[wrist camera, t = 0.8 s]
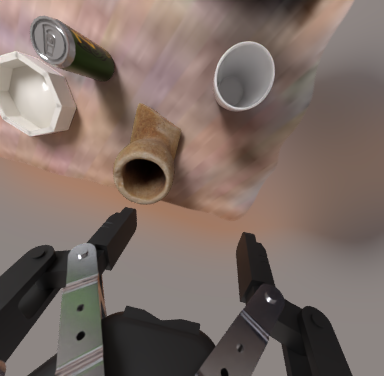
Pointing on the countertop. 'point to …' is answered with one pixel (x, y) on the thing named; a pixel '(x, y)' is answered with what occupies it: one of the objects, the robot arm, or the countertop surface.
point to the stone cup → (147, 158)
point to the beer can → (70, 49)
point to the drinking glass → (243, 76)
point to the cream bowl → (34, 95)
